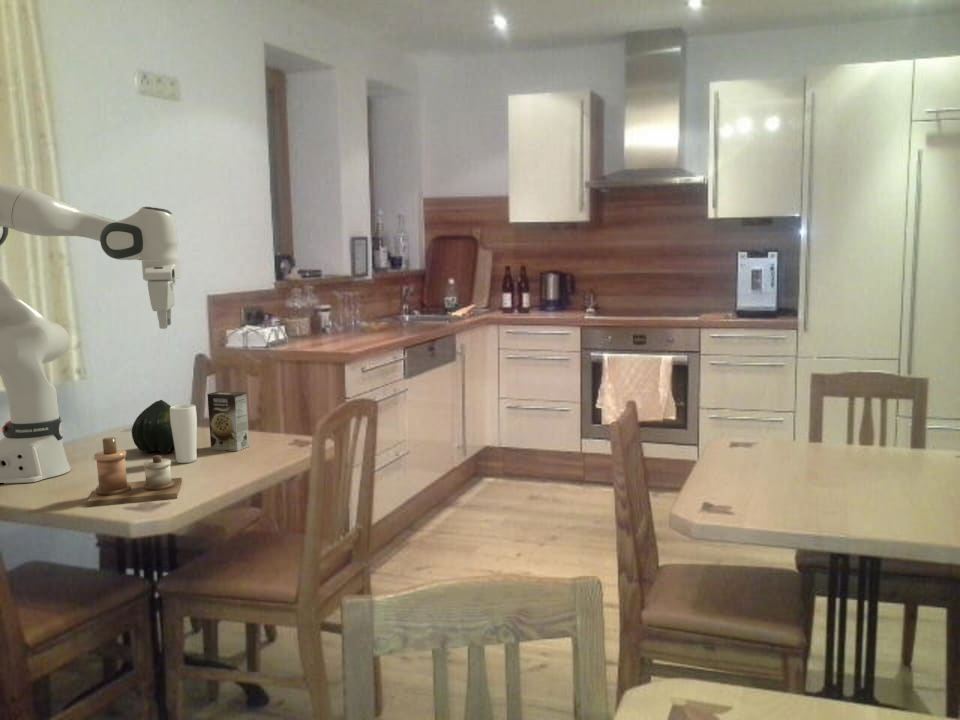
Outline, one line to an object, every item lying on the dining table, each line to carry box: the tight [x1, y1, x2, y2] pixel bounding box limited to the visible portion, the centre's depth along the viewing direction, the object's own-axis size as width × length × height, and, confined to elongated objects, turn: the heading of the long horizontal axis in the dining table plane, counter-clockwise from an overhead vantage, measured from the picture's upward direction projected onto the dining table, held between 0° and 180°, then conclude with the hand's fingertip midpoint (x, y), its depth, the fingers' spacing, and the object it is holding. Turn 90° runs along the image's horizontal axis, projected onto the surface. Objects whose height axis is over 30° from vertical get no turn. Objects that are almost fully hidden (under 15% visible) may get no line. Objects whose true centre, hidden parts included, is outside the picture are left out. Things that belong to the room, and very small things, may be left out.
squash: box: [131, 399, 175, 455], centre depth 245 cm, size 14×15×15 cm
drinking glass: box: [170, 403, 198, 464], centre depth 231 cm, size 7×7×15 cm
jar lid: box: [93, 436, 127, 462], centre depth 199 cm, size 7×7×4 cm
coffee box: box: [207, 390, 250, 452], centre depth 245 cm, size 9×6×16 cm
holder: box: [86, 454, 183, 507], centre depth 201 cm, size 19×14×9 cm
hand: (165, 326), depth 219 cm, fingers open, 8 cm apart
